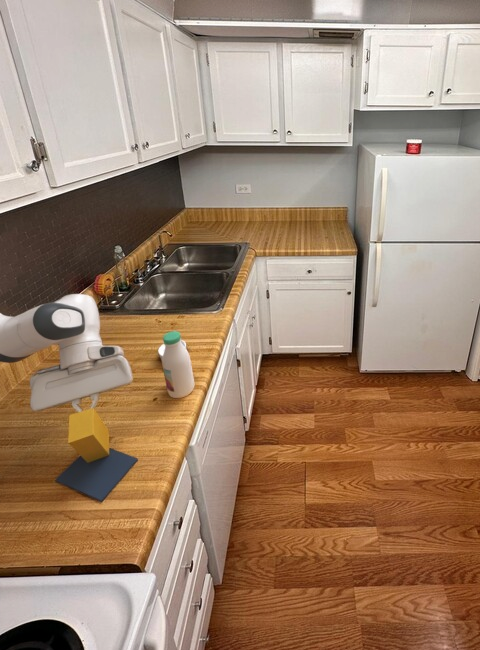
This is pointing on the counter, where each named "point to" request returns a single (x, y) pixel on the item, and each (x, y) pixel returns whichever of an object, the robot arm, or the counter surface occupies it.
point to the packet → (88, 435)
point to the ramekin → (162, 348)
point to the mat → (97, 474)
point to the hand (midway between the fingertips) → (87, 417)
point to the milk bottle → (177, 366)
